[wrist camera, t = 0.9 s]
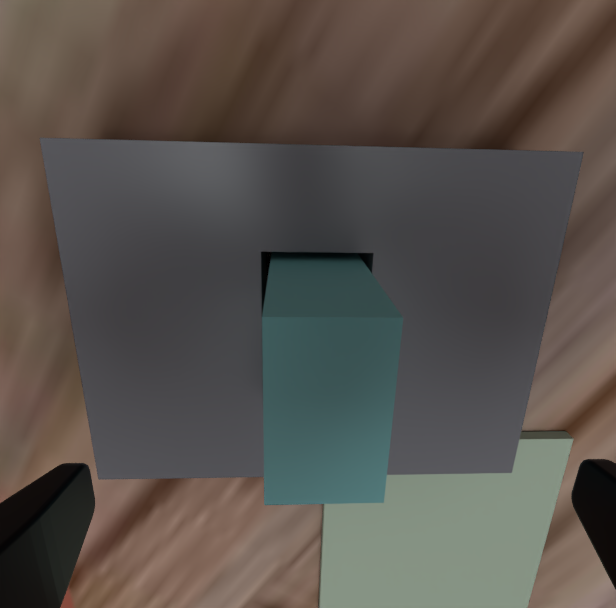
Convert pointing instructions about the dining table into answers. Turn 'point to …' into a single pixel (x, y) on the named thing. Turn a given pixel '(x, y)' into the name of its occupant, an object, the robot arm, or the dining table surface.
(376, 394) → the plug
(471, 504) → the mat
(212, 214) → the socket block
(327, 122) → the dining table surface
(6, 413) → the dining table surface
